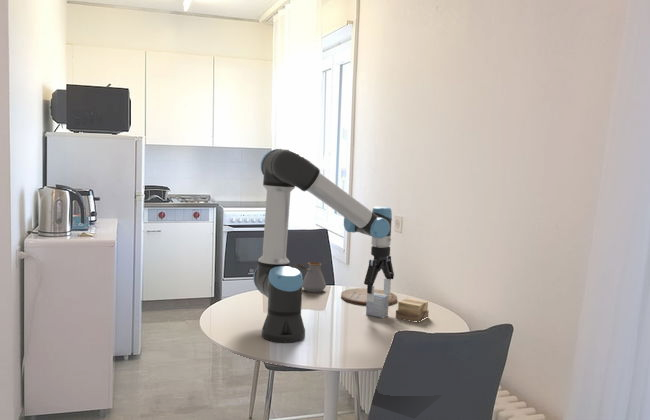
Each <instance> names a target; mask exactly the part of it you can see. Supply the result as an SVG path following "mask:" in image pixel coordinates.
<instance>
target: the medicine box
mask: <svg viewBox="0 0 650 420" xmlns="http://www.w3.org/2000/svg"><path fill="white" fill-rule="evenodd" d="M388 303H389V296H388V295H384V294H379V293H374V302H369V301H367V305H366V306H365V307H366V310H365V315H366V316H372V317H376V318H382V319H384V318H387V317H389V305H388Z"/></svg>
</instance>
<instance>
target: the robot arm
mask: <svg viewBox="0 0 650 420" xmlns="http://www.w3.org/2000/svg"><path fill="white" fill-rule="evenodd" d="M261 159H262V160H261V162H260V171H261V173H262V175H263V182H262V186H263V187H264V189H265V190H266V200H265V214H264V231H263V244H262V255H261V256H260V257H259V258H258V260H257V267H256V268H255V269H254V272H253V276H252V277H253V283H254V285H255V287H256V289H257V290H258V291H259V292H260V293H261V294H262V295H264V296H265V297H267V314H266V317H265V320H264V323H263V326H262V328H261V337H262V338H263V339H265V340H267V341H270V342H275V343H282V344H283V343H285V344H286V343H296V342H299V341H302V340H304V339H305V338H306V328H305V324H304V322H303V317H302V300H303V287H302V285H303V280H304V279H303V274H302V272H301V270H299V269H298V268H296V267H291V265H290V263H291V262H290V260H289V258H288V257H287V248H288V247H287V246H288V231H289V216H290V204H291V203H290V202H291V192H292V191H293V190H294V189H295V188H297V189H299V190H301V191H303V192H308V193H310V194H311V195H313V196H314V197H315V198H316V199H318V200H320V201H321V202H323V203H324V204H325V205H327V207H329V208H331V209H332V210H333V211H335V212H336V213H338V214H339V215H341V216H342V217H343V227H344V229H345V231H346V232H348V233H359V234H363V235H367V236H368V237H369V236H370V237H371V243H370V244H371V245H372V246H370V249H371V251H370V254H371V256H373V259H369V260H368V266H367V270H366V275H365V278H364V281H363V284H364V285H366V286H367V301H369V302H374V289H375V285H374V283H375V281H376V279H377V277H378V273H379V272H380V271H382V272H383V275H384V277H385V278H383V290H384V294H385V295H390V292H391V289H392V287H391V285H392V280H394V277H395V271H394V267H393V263H392V256H391V241H392V239H391V235H392V234H391V233H392V220H393V214H392V209H391V208H390V207H388V206H374V207H373V208H372V210H371V209H369V208H367V206H365V205H364V204H362V203H361V202H360V201H358V200H357V199H355V198H354V197H353V196H351V195H350V194H349V193H348V192H346V191H345V190H344V189H342V188H341V187H340V186H338V185H337V184H335V183H334V182H332V181H331V180H330V179H329V178H327V176H325V175H323V174H322V173H321V169H320V168H319V167H318V166H316V165H314V163H312V162H311V161H310V160H309V159H307V158H306V157H305V156H304V155H302V154H301V153H299V152H298V151H296V150H293V149H282V148H276V149H272V150H269V151H268V152H266V154H264V155H263V157H262V158H261Z"/></svg>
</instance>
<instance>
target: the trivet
mask: <svg viewBox="0 0 650 420" xmlns="http://www.w3.org/2000/svg"><path fill="white" fill-rule="evenodd" d="M374 293H379V294H384V289H383V290H382V289H378V288H374ZM384 295H385V294H384ZM340 296H341V297H340V298H341V299H342V301H345V302H346V303H350V304H353V305H359V306H365V307H366V305H367V288H365V287H361V288H359V287H358V288H350V289H345V290H343V291H341V293H340ZM388 296H389V303H388V306H390V305H394V304H396V303H397V301H398V296H397V295H396V294H395V293H394V292H391V291H390V295H388Z"/></svg>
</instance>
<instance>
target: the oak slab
mask: <svg viewBox="0 0 650 420" xmlns="http://www.w3.org/2000/svg"><path fill="white" fill-rule="evenodd" d="M428 303H429V302H428V301H427V300H420V299H417V298H416V299H415V298H410V297H407V298H404V299H402V300H399V301H398V306H397V307H398V308H397V310H400V311H404V312H409V313H413V314H418V315H419V314H421V313H423V312H425V311H427V310H428V305H429V304H428Z"/></svg>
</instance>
